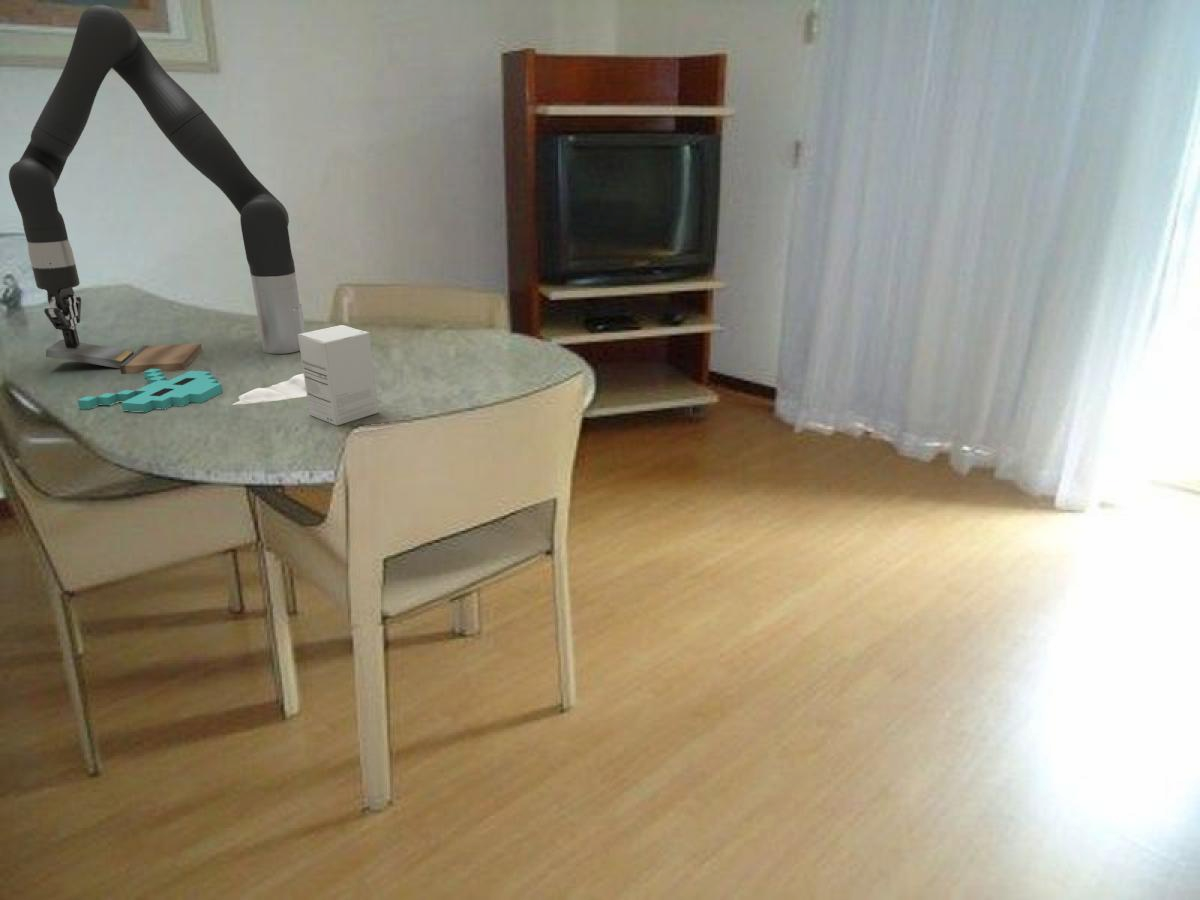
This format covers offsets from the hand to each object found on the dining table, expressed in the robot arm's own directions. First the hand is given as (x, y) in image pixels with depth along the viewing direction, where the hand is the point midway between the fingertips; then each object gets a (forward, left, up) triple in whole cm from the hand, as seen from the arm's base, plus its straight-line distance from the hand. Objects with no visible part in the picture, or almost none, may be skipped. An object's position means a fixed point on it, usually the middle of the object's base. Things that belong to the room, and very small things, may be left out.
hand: (73, 346), depth 173 cm
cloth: (-46, +24, -5) cm, 53 cm away
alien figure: (-23, +24, -5) cm, 34 cm away
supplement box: (-58, +42, -5) cm, 72 cm away
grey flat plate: (-3, 0, -3) cm, 4 cm away
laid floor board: (-17, 0, -4) cm, 17 cm away
